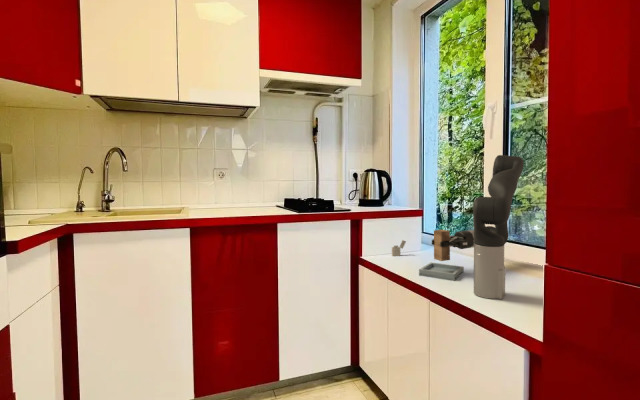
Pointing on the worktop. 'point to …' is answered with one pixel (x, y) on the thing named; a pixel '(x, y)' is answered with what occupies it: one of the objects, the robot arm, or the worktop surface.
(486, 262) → the robot arm
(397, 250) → the lighter
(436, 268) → the tray
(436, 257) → the tall wooden block
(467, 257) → the worktop surface
